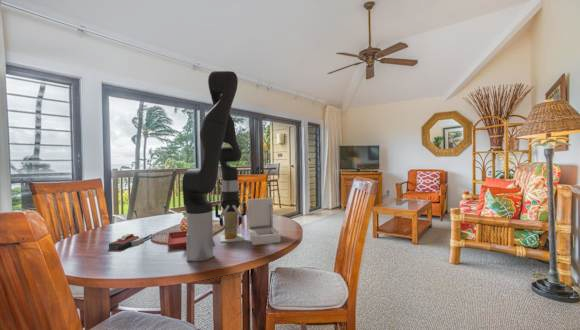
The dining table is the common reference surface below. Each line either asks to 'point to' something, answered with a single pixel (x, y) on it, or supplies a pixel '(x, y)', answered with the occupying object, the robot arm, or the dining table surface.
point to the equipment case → (261, 222)
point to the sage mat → (238, 238)
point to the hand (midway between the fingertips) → (231, 225)
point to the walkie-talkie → (126, 242)
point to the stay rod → (270, 215)
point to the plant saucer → (177, 239)
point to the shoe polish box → (230, 224)
